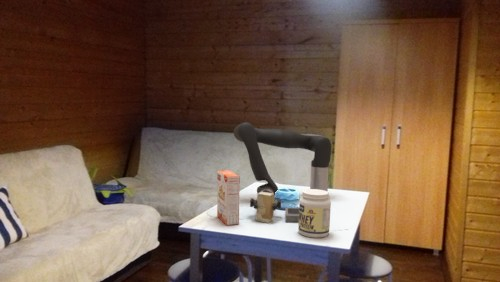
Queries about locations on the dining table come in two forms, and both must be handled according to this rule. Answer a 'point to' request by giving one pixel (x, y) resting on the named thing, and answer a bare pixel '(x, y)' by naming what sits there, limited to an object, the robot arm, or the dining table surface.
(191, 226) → the dining table surface
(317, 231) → the supplement tub
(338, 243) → the dining table surface
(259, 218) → the skincare box
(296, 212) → the tray
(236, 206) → the cracker box
